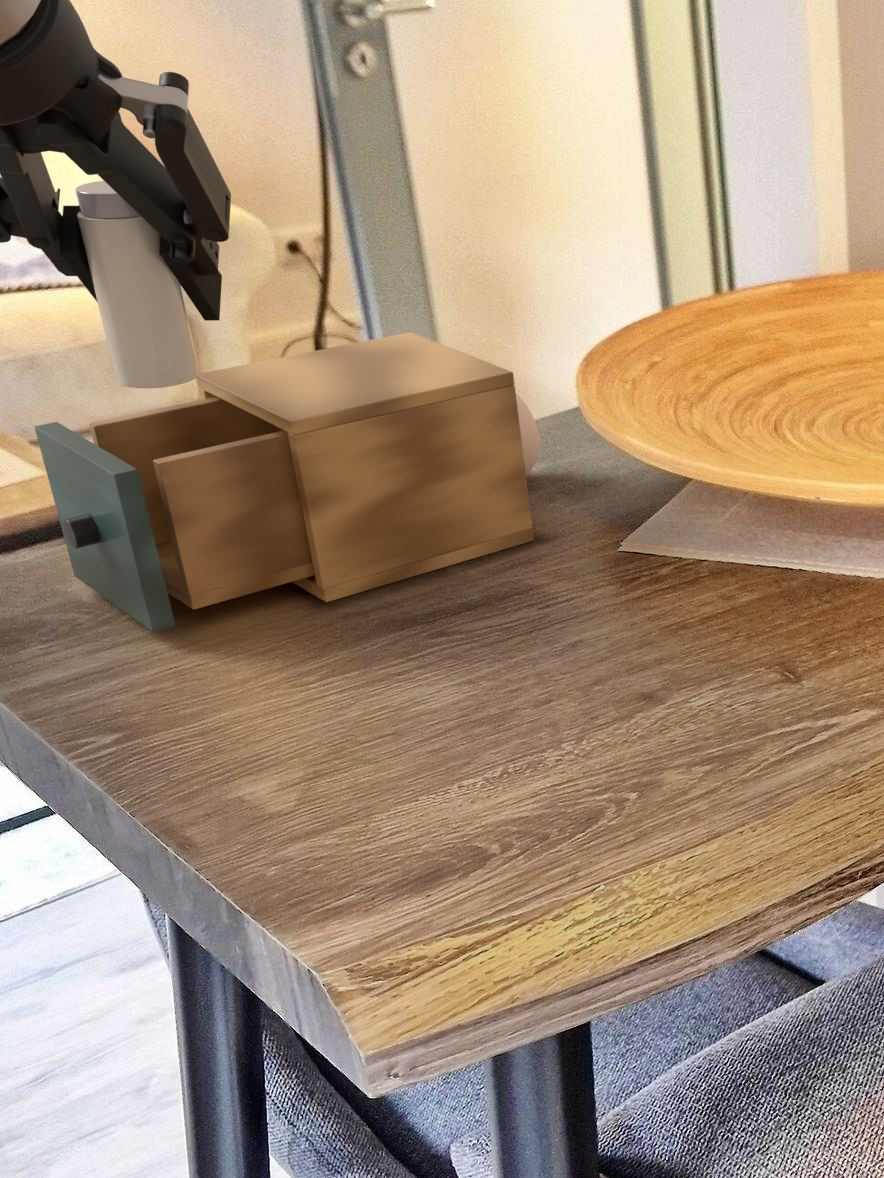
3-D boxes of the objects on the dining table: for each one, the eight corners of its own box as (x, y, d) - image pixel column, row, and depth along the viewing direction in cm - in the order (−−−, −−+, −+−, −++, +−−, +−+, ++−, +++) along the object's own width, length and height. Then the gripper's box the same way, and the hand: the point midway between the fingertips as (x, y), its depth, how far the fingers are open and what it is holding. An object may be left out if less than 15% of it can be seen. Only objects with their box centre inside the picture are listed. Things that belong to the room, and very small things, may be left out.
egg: (559, 481, 114) (548, 384, 111) (502, 502, 111) (489, 402, 107) (510, 466, 116) (498, 370, 113) (453, 486, 113) (438, 387, 110)
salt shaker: (103, 376, 90) (57, 184, 85) (180, 362, 92) (139, 175, 87) (135, 393, 87) (89, 198, 82) (213, 378, 90) (172, 187, 85)
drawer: (130, 639, 89) (89, 480, 85) (52, 582, 96) (10, 431, 91) (372, 569, 98) (346, 421, 94) (286, 521, 104) (258, 380, 100)
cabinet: (326, 602, 96) (290, 421, 91) (232, 546, 103) (194, 374, 98) (534, 540, 105) (513, 371, 100) (435, 492, 112) (410, 331, 107)
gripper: (-288, 68, 67) (-9, 362, 89) (169, 74, 69) (330, 359, 91) (-264, -90, 69) (3, 236, 91) (180, -80, 71) (335, 236, 93)
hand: (166, 297), depth 91 cm, fingers closed on salt shaker, 4 cm apart
